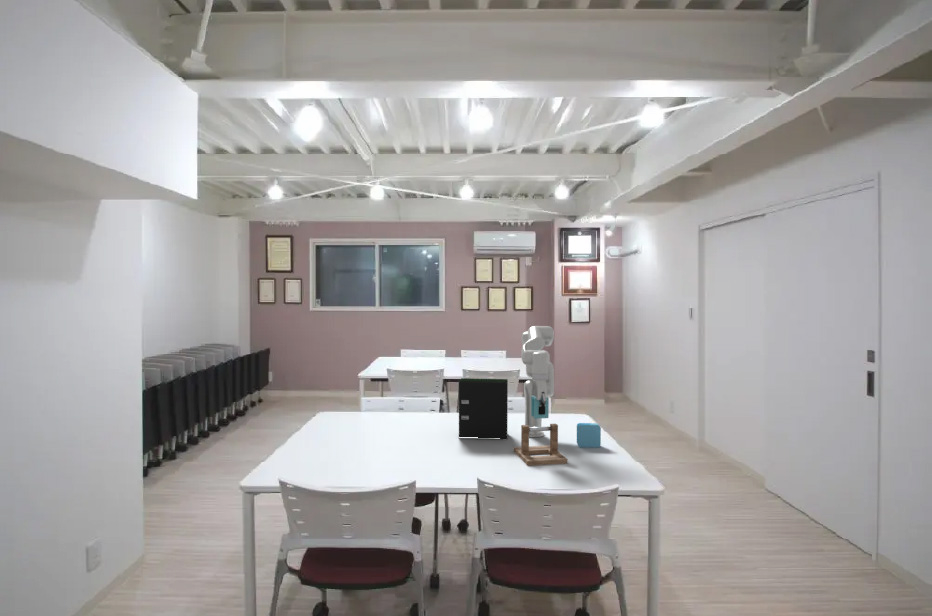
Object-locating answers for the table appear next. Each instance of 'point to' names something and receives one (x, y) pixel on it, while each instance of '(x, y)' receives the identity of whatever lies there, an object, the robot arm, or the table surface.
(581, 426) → the data package
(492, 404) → the binder
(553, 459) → the hook stand
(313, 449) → the table surface
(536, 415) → the teal rectangular block
